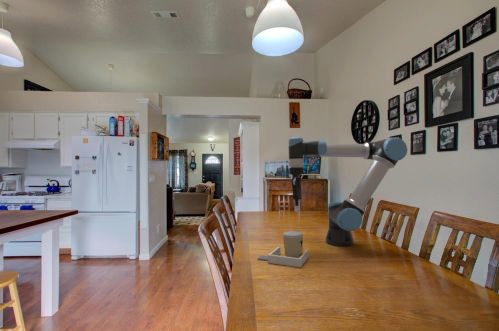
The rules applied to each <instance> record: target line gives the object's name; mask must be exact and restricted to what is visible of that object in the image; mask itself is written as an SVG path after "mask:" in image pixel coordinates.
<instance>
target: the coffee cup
mask: <svg viewBox="0 0 499 331" xmlns="http://www.w3.org/2000/svg"><path fill="white" fill-rule="evenodd" d="M303 237H304V234H303V232H301V231H298V230H297V231H296V230H288V231H285V232H283V233H282V239H283V248H284V256H285V257H293V258H300V256H301V255H302V254H303V247H304V246H303V242H304V240H303Z"/></svg>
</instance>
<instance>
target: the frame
mask: <svg viewBox="0 0 499 331" xmlns="http://www.w3.org/2000/svg"><path fill="white" fill-rule="evenodd" d="M281 253H282V252H281V246H277V247H275V249H274V250H272V252H270V253H269V254H267V256H268V261H267V262H268V264H275V265H281V266H288V267H295V268H302V266H303V265H304V264H305V263H306V261H307V260H308V259H309V249H305V251H304V252H302V255H301V256H300V258H293V257H285V255H281Z"/></svg>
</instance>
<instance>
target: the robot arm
mask: <svg viewBox="0 0 499 331" xmlns="http://www.w3.org/2000/svg"><path fill="white" fill-rule="evenodd" d="M407 154H408V146H407V143H406V142H405V141H404V140H403V139H402V138H399V137H388V138H386V139H382V140H377V141H373V142H372V141H371V142H364V143H363V144H361V143H360V144H359V143H327V142H326V141H324V140H312V141H311V140H310V141H309V140H308V141H306V140H304V139H303V137H301V136H297V137H290V138H289V139H288V161H287V162H288V164H289V165H288V166H289V168H288V173H289V175H291V176H292V178H291V186H292V201H293V202H294V213H301V200H302V199H303V198H302V181H303V180H302V178H301V175H304V173H305V171H304V170H305V169H304V165H305V164H304V161H305V160H304V156H305V157H309V158H312V157H313V158H315V157H316V158H317V157H318V158H319V157H321V158H326V157H328V158H363V159H364V160H371V161H372V162H371V164H370V165H369V166H368V168H367V170H366V172H365V173H364V175H363V176H362V178H361V179H360V181H359V182H358V184H357V186H356V187H355V188H354V190H353V191H352V193H351V195H350V196H349V198H346V199H344V200H343V201H342V202H341V201H337V202H335V201H334V202H329V203H328V207H327V211H328V212H327V213H328V229H327V233H326V235H325V243H327V245H331V246H336V247H349V246H350V247H351V246H353V245H354V243H355V242H354V237H353V234H352V231H356V230H358V229H359V228H360V227H362V226H361V225H362V224H363V216H364V215H365V213H366V210H365V207H366V206H367V204H368V203H369V201H370V199H371V198H372V196H373V194H374V193H375V192H376V190H377V188H378V186H380V184H381V183H382V180H383V179H384V177H385V176H386V174H387V173H388V172H389V170H390V169H394V168H395V166H396V165H397V164H398V162H399V161H401V160H403V159H404V158H405V157H406V156H407Z"/></svg>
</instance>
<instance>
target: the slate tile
mask: <svg viewBox="0 0 499 331" xmlns="http://www.w3.org/2000/svg"><path fill="white" fill-rule="evenodd" d="M257 261H263V262H268V255H259V257H257Z"/></svg>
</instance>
